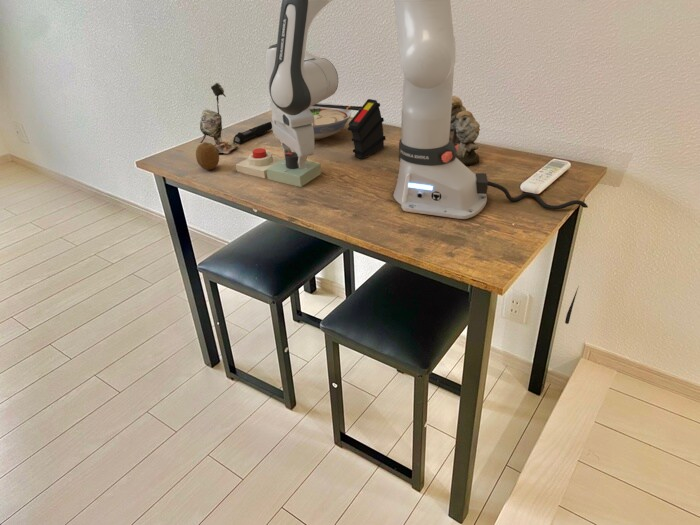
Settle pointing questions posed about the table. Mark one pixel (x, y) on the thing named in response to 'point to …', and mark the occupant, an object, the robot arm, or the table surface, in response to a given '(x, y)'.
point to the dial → (291, 160)
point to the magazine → (367, 130)
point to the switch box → (257, 165)
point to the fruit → (207, 156)
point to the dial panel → (293, 173)
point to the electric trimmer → (252, 133)
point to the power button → (259, 153)
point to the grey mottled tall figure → (214, 124)
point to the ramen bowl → (330, 118)
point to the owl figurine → (464, 132)
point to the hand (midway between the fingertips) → (294, 161)
